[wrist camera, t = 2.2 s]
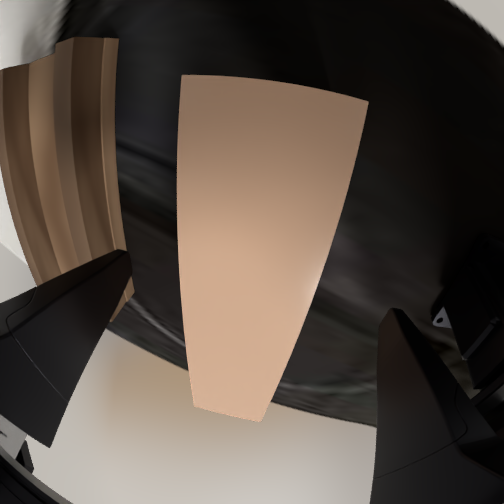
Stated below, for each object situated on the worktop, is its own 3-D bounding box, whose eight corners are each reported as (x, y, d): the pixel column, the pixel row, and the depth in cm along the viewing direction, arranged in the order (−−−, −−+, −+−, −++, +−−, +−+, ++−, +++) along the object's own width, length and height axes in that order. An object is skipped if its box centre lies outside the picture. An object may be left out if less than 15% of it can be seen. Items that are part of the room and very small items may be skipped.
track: (118, 38, 9) (75, 36, 6) (134, 291, 17) (113, 322, 15) (30, 66, 9) (-7, 73, 7) (60, 266, 18) (38, 289, 16)
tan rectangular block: (330, 94, 9) (368, 101, 3) (280, 312, 16) (260, 422, 10) (256, 81, 9) (181, 74, 4) (230, 301, 16) (194, 406, 11)
